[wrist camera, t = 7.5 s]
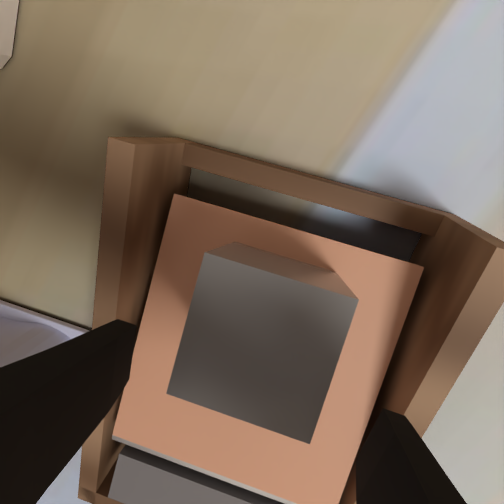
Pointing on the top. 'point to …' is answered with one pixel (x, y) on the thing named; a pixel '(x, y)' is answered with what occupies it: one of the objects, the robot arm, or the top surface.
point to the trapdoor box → (318, 191)
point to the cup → (7, 28)
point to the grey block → (262, 339)
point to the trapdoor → (229, 428)
